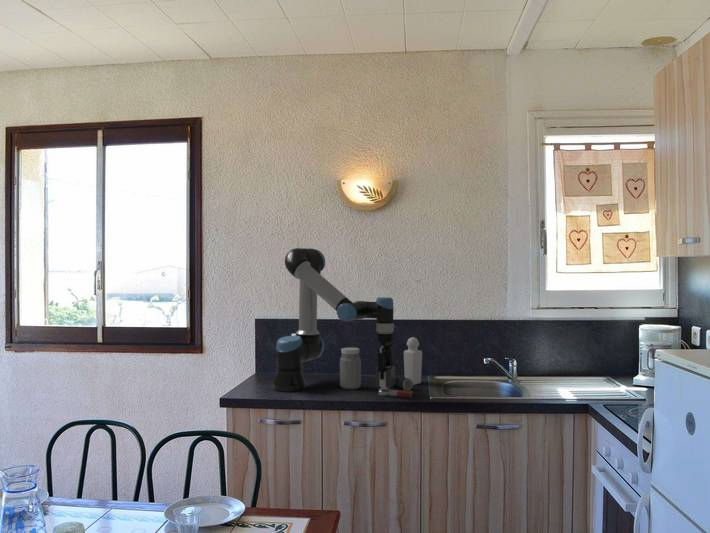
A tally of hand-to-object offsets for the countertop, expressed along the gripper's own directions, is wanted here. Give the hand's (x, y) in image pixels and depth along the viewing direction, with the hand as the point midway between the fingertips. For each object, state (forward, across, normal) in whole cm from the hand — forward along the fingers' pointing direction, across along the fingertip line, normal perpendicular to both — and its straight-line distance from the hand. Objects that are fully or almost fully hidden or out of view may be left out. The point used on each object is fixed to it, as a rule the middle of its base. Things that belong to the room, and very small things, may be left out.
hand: (385, 384), depth 238 cm
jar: (+4, +7, +19) cm, 21 cm away
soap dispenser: (+4, +26, -6) cm, 27 cm away
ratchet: (+4, 0, -4) cm, 6 cm away
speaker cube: (0, 0, 0) cm, 0 cm away
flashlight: (+5, +16, -2) cm, 16 cm away
